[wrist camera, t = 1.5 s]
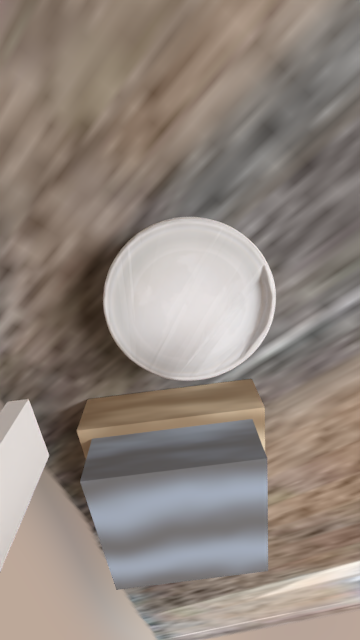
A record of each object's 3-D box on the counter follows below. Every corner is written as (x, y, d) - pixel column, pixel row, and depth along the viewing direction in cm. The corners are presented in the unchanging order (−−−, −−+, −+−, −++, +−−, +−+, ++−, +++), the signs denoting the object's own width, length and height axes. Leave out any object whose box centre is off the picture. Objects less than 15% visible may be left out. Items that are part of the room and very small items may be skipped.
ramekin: (246, 348, 28) (264, 383, 23) (116, 347, 27) (107, 382, 22) (265, 213, 23) (292, 221, 19) (111, 207, 23) (97, 214, 18)
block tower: (87, 399, 29) (61, 472, 22) (251, 378, 29) (281, 445, 22) (119, 510, 35) (107, 597, 28) (255, 493, 35) (279, 576, 28)
